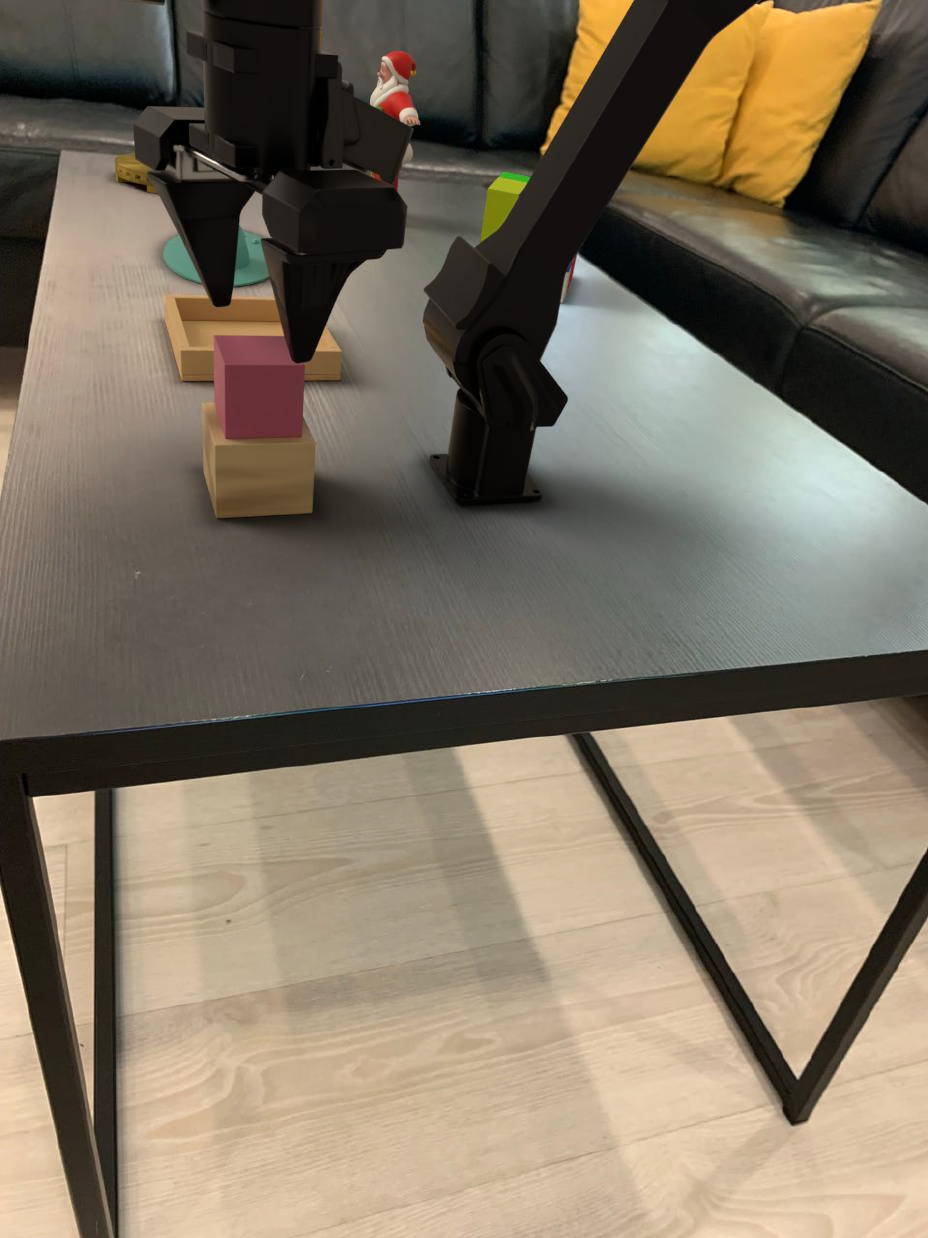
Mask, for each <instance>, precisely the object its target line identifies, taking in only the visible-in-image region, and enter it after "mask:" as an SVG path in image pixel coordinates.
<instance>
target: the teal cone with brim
mask: <svg viewBox="0 0 928 1238" xmlns="http://www.w3.org/2000/svg"><path fill="white" fill-rule="evenodd" d="M261 238H263V237H262V236H259V235H258V234H254V233H252V232H248V231H246V230H244V229H243V228H242V227H241V225H240V224H239V233H238V245H237V256H236V267H235V279H234V286H233V288H235V287H243V286H249V285H253V284H257V283H261V282H263V281H266V280H267V279H270V277H269V274H268V270H267V266H266V262H265V258H264V254H263V250H262V246H261ZM162 258H163V260H164V262H165V265H166V266H167V267H168V268H169V269H170V270H171V271H172V272H173V273H174V274H175V275H177V276H179V277H181V278H183V279H185V280H188V281H190V282H194V283H196V284H199V285H200V284H201V285H202V282H201V280H200V278H199V276H198V274H197V272H196V270H195V267H194V265H193V263H192V261H191V259H190V257H189V255H188V252H187V250H186V248H185V246H184V244H183V242H182V240H181V238H180V236H179V234H178V235H177V236H175V237H173V238H171V239H170V240H168V242H167V243H166V244H165V245H164V247H163V252H162Z"/></svg>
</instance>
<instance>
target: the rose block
mask: <svg viewBox="0 0 928 1238" xmlns="http://www.w3.org/2000/svg"><path fill="white" fill-rule="evenodd" d="M213 344H214V381H213V386H214V387H213V391H214V392H213V393H214V394H213V395H214V397H213V398H214V402H215V408H216V411H217V414H218V418H219V421H220V424H221V427H222V430H223V433H224V436H225V439H240V438H279V437H302V426H303V417H304V399H305V398H304V397H305V380H304V377H305V365H304V363H298V364H297V363H295V362H293V361H292V360H291V357H290V354H289V350H288V347H287V344H286V341H285V337H284V336H245V335H214V336H213Z"/></svg>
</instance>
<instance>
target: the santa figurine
mask: <svg viewBox="0 0 928 1238" xmlns="http://www.w3.org/2000/svg"><path fill="white" fill-rule="evenodd" d="M416 69H417V65H416V62H415V60H414V58H413V57H412V55H411V54H409V53H407V52H405V51H401V50H396V51H391V52H389V53H387V54H386V55H384V56H382V57H381V64H380V69H378V72H377V73H376V75H377V77H378V79H377V80H378V81H377V83H376V87H375V89H374V90H373V92H372V94H371V95H370V98H369V104H370V105H372V106H374V107H375V108H377V109H379V110H381V111H383V112H385V113H386V114H388V115H390V116H392V117H394V118H395V119H397V120H399V121H401V122H403V123H405V124H406V125H408V126H410V127H413V126H415V125H417V126H421V121H420V120H419V114H418V110H417V108H416V107H415V106H414V103H413V99H412V97H411V94H410V93H409V91H410V90H409V86H408V85H409V80H410V79H411V76H412V77H416V75H417V71H416ZM413 157H414V150H413V147H412V145H411V143H409V144H408V147H407V150H406V153H405V155H404V158H403V161H402V164H401V167H400V169H399V172H398V175H397V178H396V181H395V183H394V185H393V187H395V189H396V190H397V191H398V192H399V189H398V188H399V179H400V177H399V176H400V171H401V170H402V167H403V165H405V164H408V163H409V162H411V161H412V159H413ZM370 176H371V177H373V178H375V179H378V180H380V178H379V175H377V174H375V173H372V172H370ZM380 181H382V180H380ZM382 182H384V181H382ZM384 183H386V182H384ZM387 184H388V183H387ZM389 185H390V184H389ZM391 186H392V185H391Z"/></svg>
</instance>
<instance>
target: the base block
mask: <svg viewBox="0 0 928 1238" xmlns="http://www.w3.org/2000/svg"><path fill="white" fill-rule="evenodd" d="M201 424H202V425H201V426H202V428H201V429H202V464H203V465H202V466H203V469H202V470H203V476H204V478H205V482H206V486H207V489H208V494H209V498H210V501H211V504H212V505H211V506H212V508H213V511H214V516H215V518H216V519H228V518H229V519H230V518H247V517H250V518H251V517H264V516H265V517H266V516H267V517H268V516H285V515H303V514H304V515H305V514H312V513H313V508H314V507H313V506H314V505H313V504H314V487H315V485H314V484H315V468H316V467H315V466H316V447H317V446H316V445H317V443H316V442H317V441H315V438H314V436H313V433H312V431H311V430H310V427H309V425H308V423H307V421H306V419H305V417H304V416H303V426H302V437H279V438H240V439H225V436H224V433H223V430H222V427H221V424H220V421H219V418H218V414H217V411H216V408H215V401H201Z"/></svg>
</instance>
